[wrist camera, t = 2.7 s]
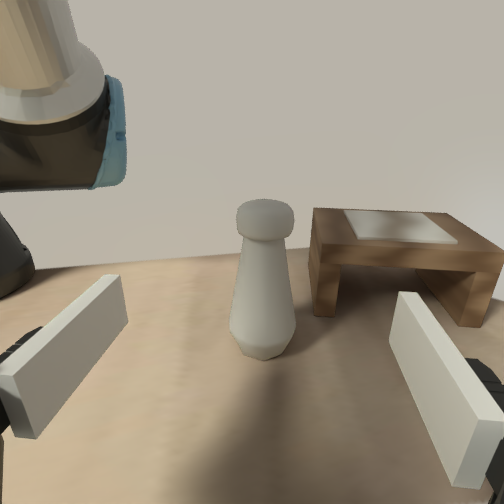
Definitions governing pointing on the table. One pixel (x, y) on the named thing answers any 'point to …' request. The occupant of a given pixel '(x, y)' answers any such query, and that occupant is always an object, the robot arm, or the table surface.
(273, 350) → the salt shaker
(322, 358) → the table surface
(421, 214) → the walnut shelf
